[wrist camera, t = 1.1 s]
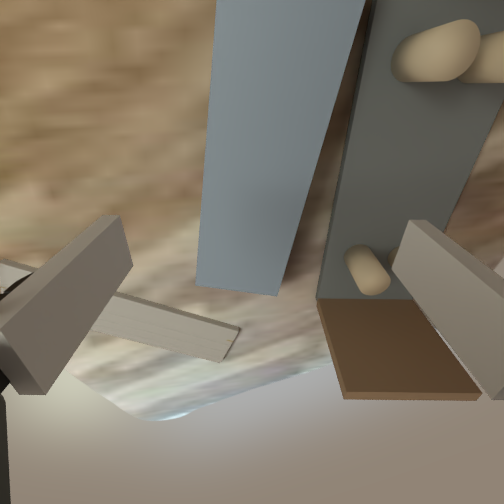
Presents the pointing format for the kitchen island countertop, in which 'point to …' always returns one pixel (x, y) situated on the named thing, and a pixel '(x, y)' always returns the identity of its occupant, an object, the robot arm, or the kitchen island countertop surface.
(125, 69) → the kitchen island countertop surface
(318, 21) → the shelf board
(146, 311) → the baseboard
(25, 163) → the kitchen island countertop surface
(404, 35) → the peg shelf
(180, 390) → the kitchen island countertop surface
